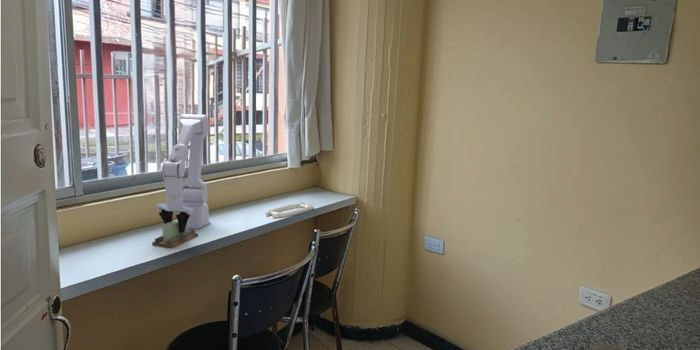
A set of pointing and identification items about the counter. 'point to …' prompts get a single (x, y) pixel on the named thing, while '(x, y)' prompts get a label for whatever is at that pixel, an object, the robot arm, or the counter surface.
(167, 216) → the robot arm
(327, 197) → the counter surface
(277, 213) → the white rectangular tray
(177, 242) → the cabinet track
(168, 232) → the pale green block
